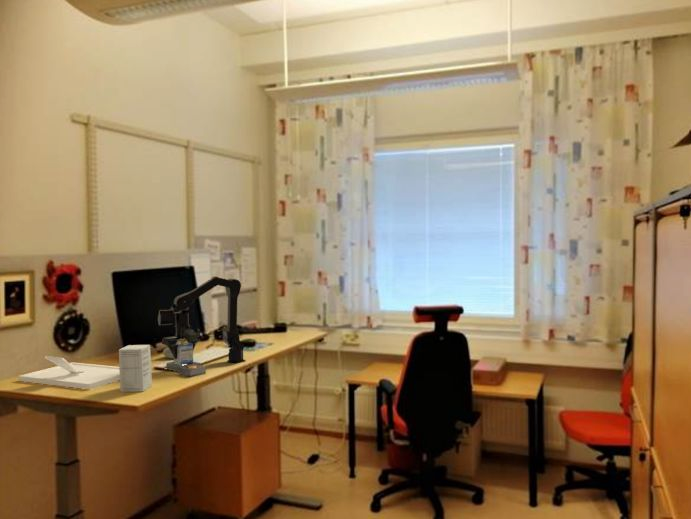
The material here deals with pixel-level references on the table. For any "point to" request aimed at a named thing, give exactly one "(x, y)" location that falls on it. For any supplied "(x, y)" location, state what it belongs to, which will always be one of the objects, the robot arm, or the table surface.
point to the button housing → (192, 371)
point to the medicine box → (184, 353)
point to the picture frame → (73, 374)
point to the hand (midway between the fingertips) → (183, 357)
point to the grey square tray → (176, 367)
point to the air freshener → (169, 352)
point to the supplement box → (135, 368)
